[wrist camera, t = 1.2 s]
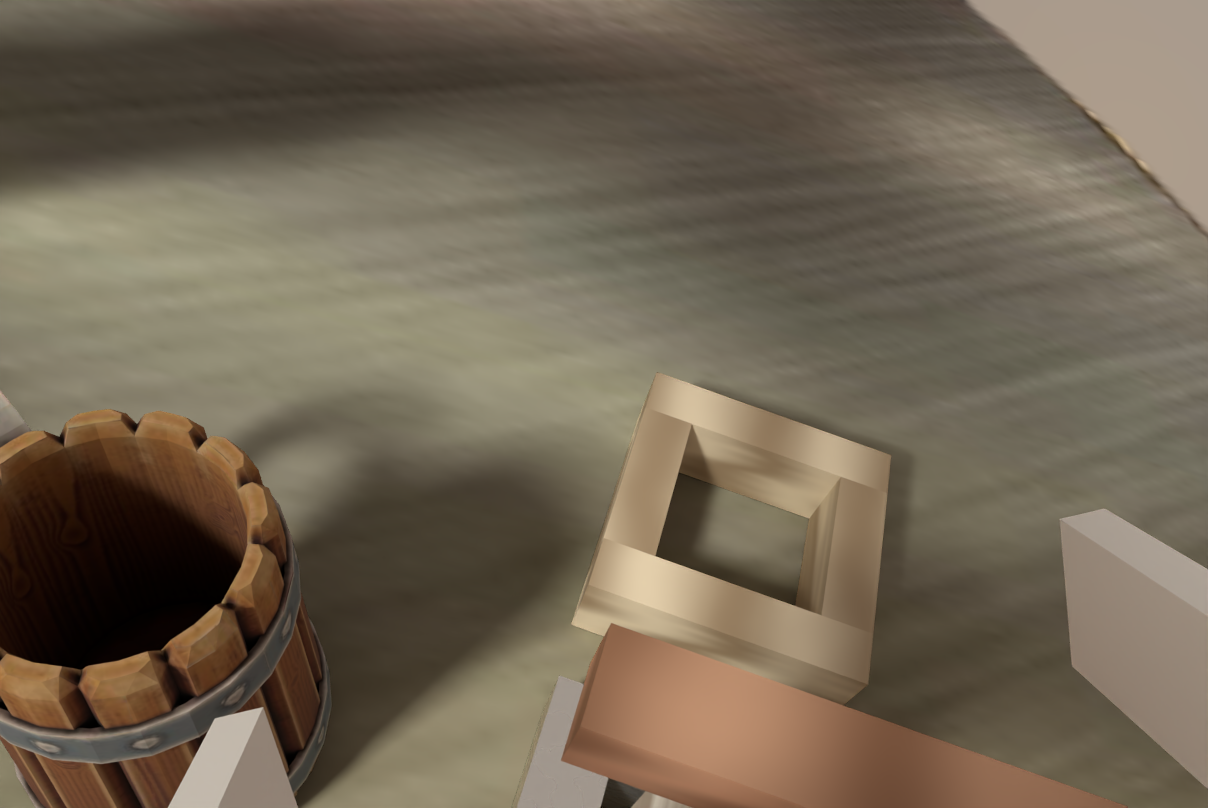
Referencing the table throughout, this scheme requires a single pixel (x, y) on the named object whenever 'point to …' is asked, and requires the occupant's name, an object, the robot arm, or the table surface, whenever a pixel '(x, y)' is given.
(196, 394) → the table surface
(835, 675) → the block
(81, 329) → the table surface
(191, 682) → the mug
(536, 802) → the plate
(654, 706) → the t-key
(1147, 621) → the robot arm
